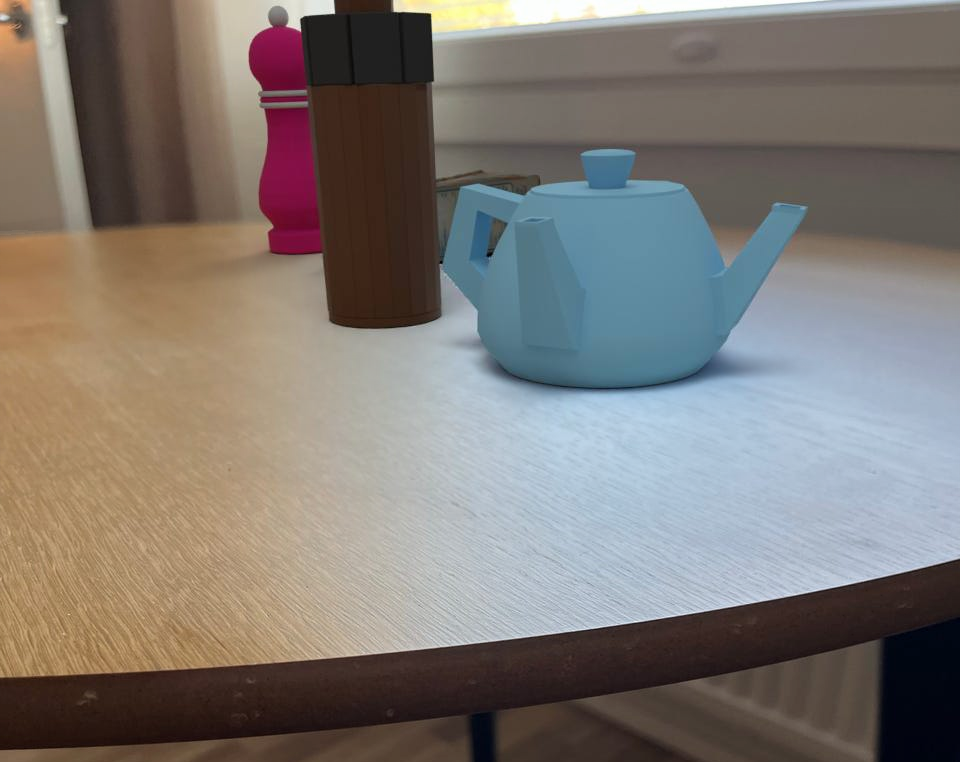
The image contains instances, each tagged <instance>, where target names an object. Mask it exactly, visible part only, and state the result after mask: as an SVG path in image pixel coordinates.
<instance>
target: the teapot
mask: <svg viewBox="0 0 960 762" xmlns="http://www.w3.org/2000/svg"><path fill="white" fill-rule="evenodd" d="M636 153H637V152H634V151H633V150H629V149H618V148H617V149H616V148H607V149H606V148H605V149H593V150H586V151H584V152H582V153H581V154H580V160H581V165H582V168H583V172H584V174H585V178H586V180H580V181H565V182H563V181H562V182H554V183H547V184H540V186H536V187H533V188H531V190H530V191H528V192H527V193H526V195H525V196H523V195H519V194H515V193H511V192H508V191H504V190H500V189H496V188H493V187H489V186H485V185H482V184H474V185H468V186H463V187H460V191H459V196H458V200H457V204H456V209H455V213H454V217H453V222H452V226H451V230H450V234H449V239H448V243H447V247H446V252H445V256H444V260H443V261H442V265H441V270H442V271H443V272H444V273H445V274H446V275H447V277H448V278H449V279H450V280H451V281H452V283H453V284H454V285H455V286H456V287H457V289H458V290H459V291H460V292H461V293H462V294H463V295H464V297H465V298H466V299H467V300H468V302H470V304H471V305H472V306H473V307H474V308H475V309H476V311H477V316H476V317H477V318H476V321H477V323H476V332H477V334H478V336H479V340H480V341H481V344H482V345H483V346H484V348H485V349H486V350H487V351H488V352H489V354H490V355H491V356H492V357H493V359H494V360H495V361H496V362H497V363H498V364H499V365H500V366H501V368H502V369H503V370H505V371H506V372H507V373H509V374H511V375H513V376H515V377H518V378H521V379H523V380H527V381H530V382H536V383H540V384H545V385H553V386H560V387H573V388H586V389H587V388H591V389H615V388H635V387H645V386H652V385H659V384H665V383H669V382H674V381H678V380H682V379H684V378H688V377H690V376H692V375H694V374H696V373H697V372H699V371H701V369H703V367H704V366H705V365H706V364H707V363H708V362H709V361H710V360H711V359H712V358H713V357H714V356H715V355H716V354H717V353H718V352H719V351H720V350H721V348H722V347H723V345H724V344H725V343H726V342H727V340H728V338H729V336H730V334H731V332H732V330H733V329H734V328H735V327H736V326H737V325H738V324H739V323H740V322H741V320H742V318H743V316H744V315H745V313H746V311H748V308H749V307H750V305H751V304H752V302H753V300H754V299H755V297H756V295H757V294H758V293H759V290H760V289H761V287H762V286H763V284H764V282H765V281H766V279H767V278H768V276H769V274H770V273H771V272H772V269H773V268H774V266H775V265H776V263H777V261H778V260H779V258H780V257H781V255H782V253H783V251H784V250H785V248H786V247H787V245H788V244H789V242H790V240H791V239H792V237H793V236H794V234H795V233H796V231H797V229H798V227H799V226H800V224H801V223H802V221H803V220H804V218H805V216H806V215H807V213H808V208H809V207H808V206H807V205H806V206H805V205H799V204H790V203H782V202H775V203H773V204H772V206H771V211H770V212H769V214H768V215H767V216H766V217H765V219H764V220H763V221H762V223H761V224H760V225H759V226H758V228H757V229H756V231H755V232H754V233H753V234H752V235H751V237H750V238H749V239H748V241H747V243H745V245H744V246H743V248H742V249H741V250H740V252H739V253H738V254H737V255H736V257H735V258H734V259H733V261H732V262H730V263H731V264H730V265H729V266H728V267H726V265H725V261H724V259H723V258H724V257H723V255H722V254H721V250H720V248H719V245H718V243H717V241H716V238H715V236H714V234H713V232H712V230H711V228H710V226H709V224H708V222H707V220H706V218H705V216H704V214H703V213H702V210H701V208H700V206H699V204H698V203H697V201H696V200H695V198H694V196H693V195H692V193H691V192H690V190H689V188H687V187H686V186H685V185H684V184H682V183H678V182H671V180H643V179H641V180H637V179H636V180H635V179H629V176H630V173H631V170H632V168H633V165H634V163H635V159H636ZM493 217H495V218H497V219H500V220H502V221H505V222H507V223H508V225H507V227H506V229H505V230H504V232H503V234H502V236H501V238H500V240H499V242H498V244H497V246H496V248H495V250H494V253H492V255H491V257H490V258H489V257H488V256H487V255H488V254H487V249H488V243H489V237H490V231H491V225H492V219H493Z"/></svg>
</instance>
